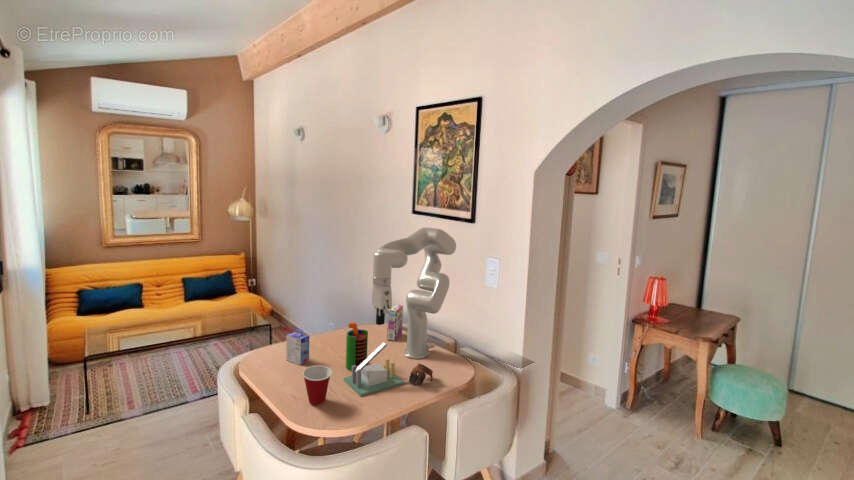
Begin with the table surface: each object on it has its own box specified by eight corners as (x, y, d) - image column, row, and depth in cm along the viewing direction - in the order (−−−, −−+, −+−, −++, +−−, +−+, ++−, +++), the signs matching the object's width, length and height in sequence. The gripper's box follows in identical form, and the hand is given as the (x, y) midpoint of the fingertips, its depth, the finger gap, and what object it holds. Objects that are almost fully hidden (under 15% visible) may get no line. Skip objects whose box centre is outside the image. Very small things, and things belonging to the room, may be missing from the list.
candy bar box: (395, 341, 221) (396, 311, 219) (386, 340, 223) (387, 310, 220) (402, 334, 232) (403, 305, 230) (394, 333, 233) (394, 304, 231)
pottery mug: (406, 378, 183) (415, 360, 184) (425, 388, 183) (434, 370, 184) (408, 384, 171) (417, 365, 172) (428, 395, 171) (438, 376, 172)
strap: (384, 343, 179) (383, 341, 179) (387, 345, 177) (386, 343, 177) (354, 372, 173) (353, 370, 172) (357, 374, 171) (356, 372, 170)
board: (385, 369, 189) (385, 352, 188) (404, 383, 176) (404, 365, 175) (343, 380, 178) (343, 361, 177) (360, 396, 165) (360, 377, 164)
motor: (361, 372, 185) (362, 328, 182) (342, 370, 187) (342, 326, 184) (369, 363, 195) (369, 321, 192) (350, 360, 197) (351, 319, 194)
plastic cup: (313, 412, 153) (313, 381, 151) (296, 401, 160) (296, 371, 158) (338, 401, 161) (338, 371, 159) (320, 391, 168) (320, 362, 166)
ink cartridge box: (310, 361, 195) (310, 331, 193) (300, 365, 190) (300, 334, 188) (295, 356, 200) (294, 326, 198) (285, 360, 195) (285, 329, 193)
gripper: (398, 284, 173) (396, 328, 175) (381, 277, 185) (380, 318, 187) (381, 285, 169) (380, 330, 171) (366, 278, 181) (364, 320, 183)
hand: (380, 324), depth 179 cm, fingers closed
